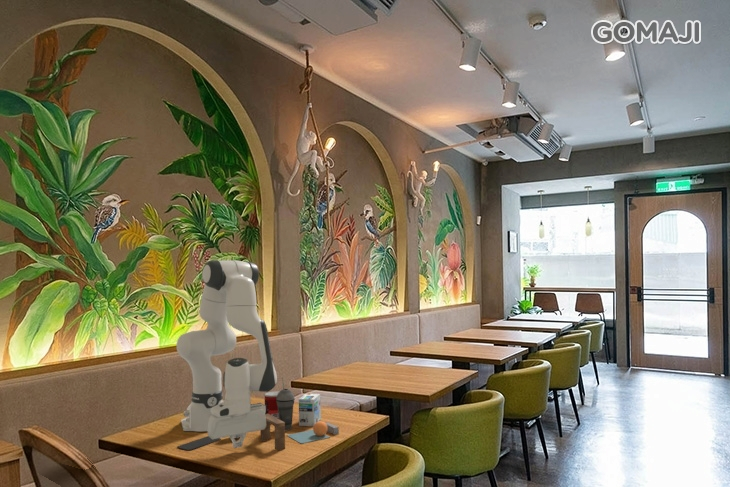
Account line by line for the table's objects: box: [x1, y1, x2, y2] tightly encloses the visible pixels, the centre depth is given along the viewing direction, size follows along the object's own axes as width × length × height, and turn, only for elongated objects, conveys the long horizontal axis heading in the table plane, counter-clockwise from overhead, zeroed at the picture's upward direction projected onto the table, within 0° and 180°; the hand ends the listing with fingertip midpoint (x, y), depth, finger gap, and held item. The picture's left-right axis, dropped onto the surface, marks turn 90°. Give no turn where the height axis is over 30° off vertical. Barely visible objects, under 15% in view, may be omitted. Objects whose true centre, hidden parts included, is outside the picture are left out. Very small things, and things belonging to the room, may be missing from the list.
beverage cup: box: [276, 377, 295, 432], centre depth 209 cm, size 7×7×20 cm
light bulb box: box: [298, 393, 322, 427], centre depth 218 cm, size 11×7×11 cm, turn 170°
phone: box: [176, 435, 222, 452], centre depth 193 cm, size 7×1×15 cm
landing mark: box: [286, 429, 331, 445], centre depth 199 cm, size 12×12×1 cm
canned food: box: [264, 390, 281, 419], centre depth 223 cm, size 8×8×11 cm
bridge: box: [259, 414, 286, 451], centre depth 191 cm, size 3×14×9 cm, turn 34°
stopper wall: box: [325, 422, 340, 436], centre depth 205 cm, size 8×2×2 cm, turn 34°
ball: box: [312, 420, 328, 436], centre depth 200 cm, size 5×5×5 cm
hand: (237, 446), depth 183 cm, fingers closed
